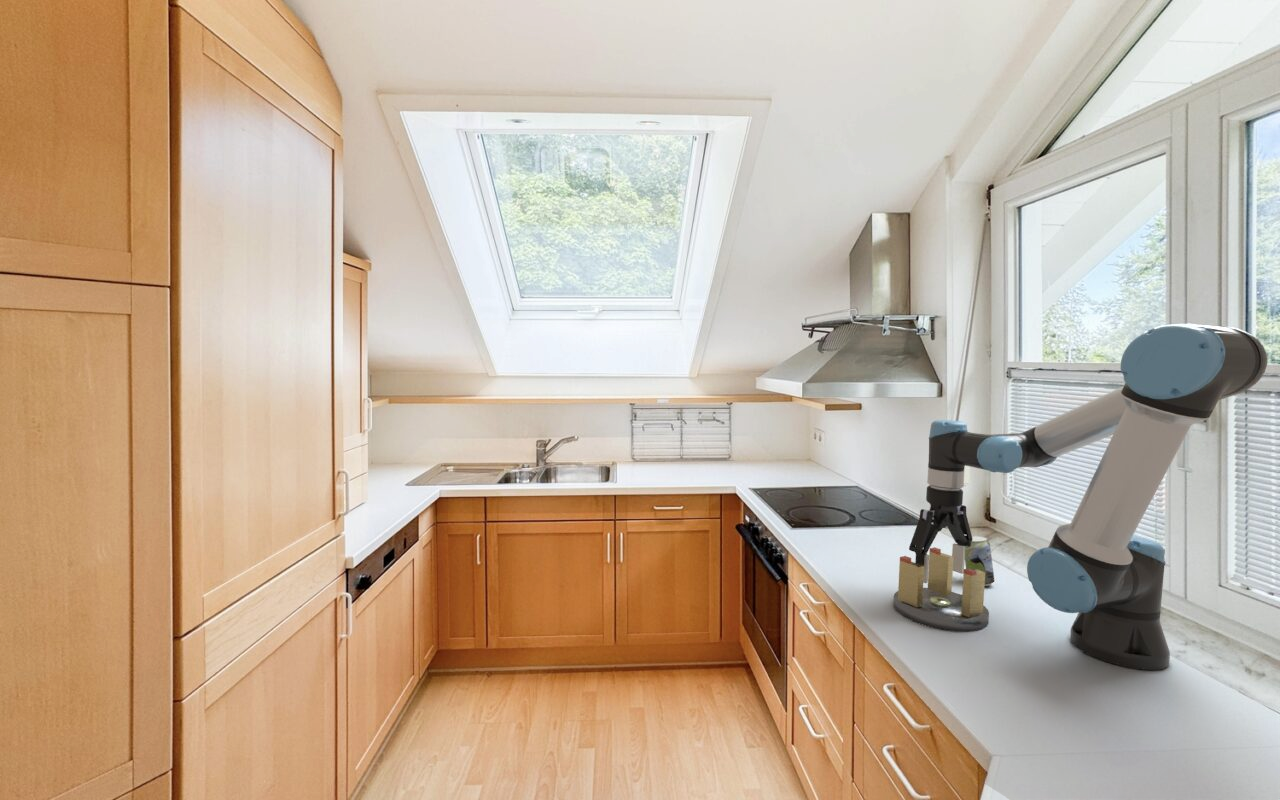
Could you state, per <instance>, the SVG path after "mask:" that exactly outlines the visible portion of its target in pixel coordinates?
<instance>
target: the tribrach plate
mask: <svg viewBox="0 0 1280 800" xmlns="http://www.w3.org/2000/svg"><path fill="white" fill-rule="evenodd" d="M893 609H894V610H895V611H896V612H897V613H898V614H899V615H901V616H902V617H904V618H906V619H907V618H908V620H909V619H910V621H911V620H912V622H914V623H916V622H917V624H919V623H920V624H919V625H922V624H923V625H922V626H925V625H926V627H928V626H929V628H932V627H933V629H936V628H937V629H938V630H943V631H948V632H949V631H950V632H960V633H961V632H963V633H965V632H966V633H968V632H977V631H980V630H981V631H982V630H983V629H985V628H987V627H988V625H989V624H990V623H989V621H990V619H989V618H990V611H989V609H988V608H987V607H986V606H985V605H984V604H983V613H982V614H979V615H976V616H973V617H970V618H969V617H967V616H964V615H962V614H961V610H962V594H960V593H957V592H955V591H952V593H951V595H948V596H945V595H943V594H940V593H937V592H935V591H932V590H929V589H928V587H923V599H922V606H920V607H915V606H912V605H910V604H908V603H905V602H903V601H900V600H898V590H897V591H895V593H894V595H893ZM937 629H936V630H937Z"/></svg>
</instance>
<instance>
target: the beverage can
mask: <svg viewBox="0 0 1280 800" xmlns="http://www.w3.org/2000/svg"><path fill="white" fill-rule="evenodd" d="M991 549H992V548H991V543H990V542H989V541H988V539H987V537H985V536H980V535H972V542H971V546H970V547H968V546H966V548H965V563H964V566H965V569H967V568H969V569H972V570H980V571H983V572H985V585H984V587H987V586H991V585H992V584H993V583H994V582H996V581H995V574H994V566H993V557H992V550H991Z"/></svg>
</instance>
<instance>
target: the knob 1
mask: <svg viewBox="0 0 1280 800" xmlns="http://www.w3.org/2000/svg"><path fill="white" fill-rule="evenodd" d="M923 579H924V566H923V565H920V564H917V563H915V561H912V557H910V556H906V555H904V556H900V557H899V569H898V588H897V589H898V590H897V591H898V600H900V601H903V602H905V603H908V604H910V605H912V606H915V607H920V606H922V599H923V588H924V583H923Z"/></svg>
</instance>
